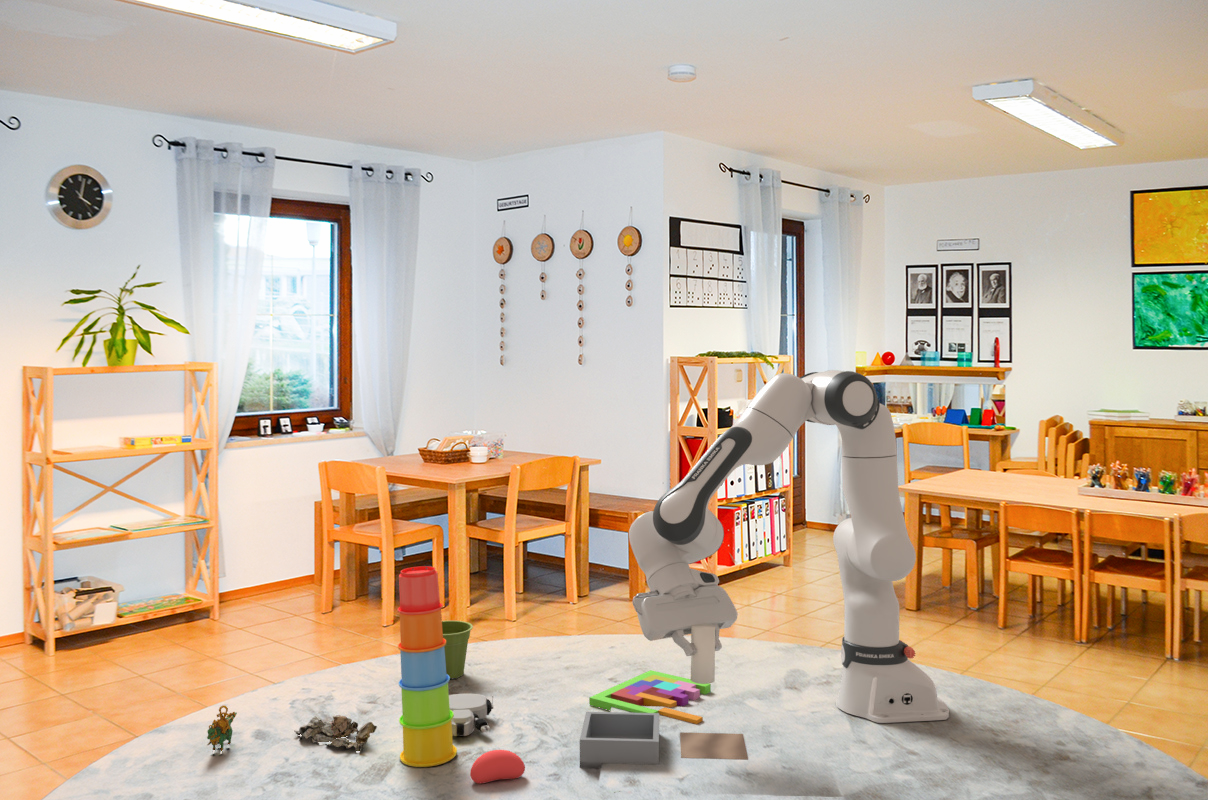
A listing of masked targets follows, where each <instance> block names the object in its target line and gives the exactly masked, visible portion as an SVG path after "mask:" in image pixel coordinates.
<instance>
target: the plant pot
mask: <svg viewBox="0 0 1208 800" xmlns="http://www.w3.org/2000/svg"><path fill="white" fill-rule="evenodd" d="M473 629H474V626H473V624H472V623H470V622H467V621H463V620H442V630H443V638H444V639H446V644H445V645H444V648H445V662H446V674H447V675H449V677H450V679H451V678H456V679H458V678H460V676H461V677H462V676H463V675H464V673H465V666H466V659H467V651H468V643H469V639H470V635H471V630H473ZM457 677H458V678H457Z"/></svg>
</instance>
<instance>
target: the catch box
mask: <svg viewBox="0 0 1208 800" xmlns="http://www.w3.org/2000/svg"><path fill="white" fill-rule="evenodd" d="M584 714H585V715H584V719H583V722H582V728H581V733H580V735H579V736H580V737H579V768H586V769H588V768H589V769H590V768H591V769H601V768H602V767H603V763H605V764H636V765H637V764H638V765H640V764H642V765H659V762H660V761H659V758H660V715H659V713H633V712H627V711H626V712H623V711H621V712H619V711H585V713H584Z"/></svg>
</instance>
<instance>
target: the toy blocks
mask: <svg viewBox="0 0 1208 800" xmlns="http://www.w3.org/2000/svg"><path fill="white" fill-rule="evenodd" d="M711 684H712V683H709V684H699V683H695V682H692V681H691V678H686V677H682V676H677V675H672V674H669V673H666V672H665V673H664V672H660V671H656V670H647V671H646V672H644V673H641V674H639V675H637V676H634V677H632V678H630V679H627V680H626V681H624V682H621V683H619V684H616V685H614V686H612V687H610V688H607V689H605V690H603V691H600V692H599V693H596V694H594V695H592V696H590V697H589V700H588V701H589V702H588V703H589V704H590V705H593V706H596V707H595V708H597V707H600V708H603V709H602V710H604V709H607V710H606V711H608V710H610V711H609V712H612V711H611V710H612V708H615V709H619V710H623V711H626V712H628V713H659V716H664V717H667V718H672V719H674V720H675V719H676V720H678V721H679V720H680V721H683V722H687V723H689V724H690V723H691V724H694V725H698V724H700V723H701V722H703V721H704V719H703V718H704V717H703V716H700V715H696V714H692V713H688V712H685V711H680V710H677V709H673V708H677V707H678V706H680V707H684V706H686V705H689V700H691V701H696V700H698V699H699V698H701V697H700V694H701V695H704V696H705V695H707V694H710V693H711V690H712V688H711V687H712V686H711ZM593 706H592V707H593ZM649 707H650V708H649ZM651 707H656V708H657V707H660V708H661V707H662V708H661V709H659V710H658V709H653V708H651ZM600 708H599V709H600Z"/></svg>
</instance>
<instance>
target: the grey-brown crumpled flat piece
mask: <svg viewBox="0 0 1208 800" xmlns="http://www.w3.org/2000/svg"><path fill="white" fill-rule="evenodd" d="M332 718H333V720H331V721H329V722H328V721H323V720H322V719H321V718H319V717H318V716H314V717H312V718H311V719H310V720H309V722H308V723H307V724H304V725H302V726H300V727H299V729H298V730H297V729H295V730H293V731H294V733H295V735H297V736H298V735H300V734H301V735H302V736H303V737H305V739H306V740H308V738H310V737H311V742H312V743H314V742H329V741H330V742H332V743H331V745H330V744H328V745H329V746H332V747H337V748H341V746H342V747H345V748H346V749H349V748H352V747H354V748H355V752H356V751H360V753H362V745H364V744H366V743H367V742H368V740H369V738H370V736H371V735H370V734H374V733H375V732H376V730H377V728H378V726H377V725H375V724H374V723H373V721H368V722H365V724H363V725H362V726H361V727H360V728H359V723H358V722H356V721H353V722H352V719H351V718H348V717H346V715H341V714H339V715H332ZM354 733H356V736H354V739H355V737H356V742H355V741H354V742H353V741H351V742H349V740H347V739H346V738H341V737H346V736H349V737H350V735H351V734H352V735H353V734H354ZM302 736H301V737H299V740H300V739H301V738H303V737H302ZM336 738H337V739H336ZM301 740H302V739H301Z"/></svg>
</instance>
